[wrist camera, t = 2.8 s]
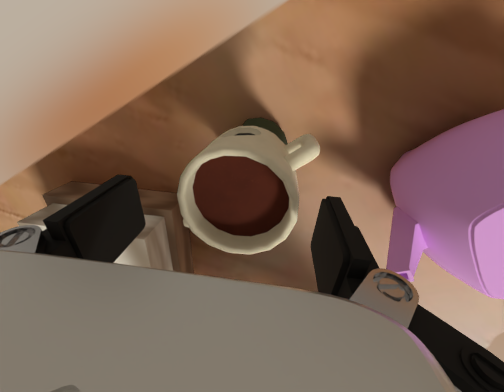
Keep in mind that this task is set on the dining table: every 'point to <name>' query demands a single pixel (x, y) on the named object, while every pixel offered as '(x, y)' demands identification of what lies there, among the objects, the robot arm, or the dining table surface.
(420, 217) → the teapot
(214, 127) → the dining table surface
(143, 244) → the grey stacked block
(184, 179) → the character mug
